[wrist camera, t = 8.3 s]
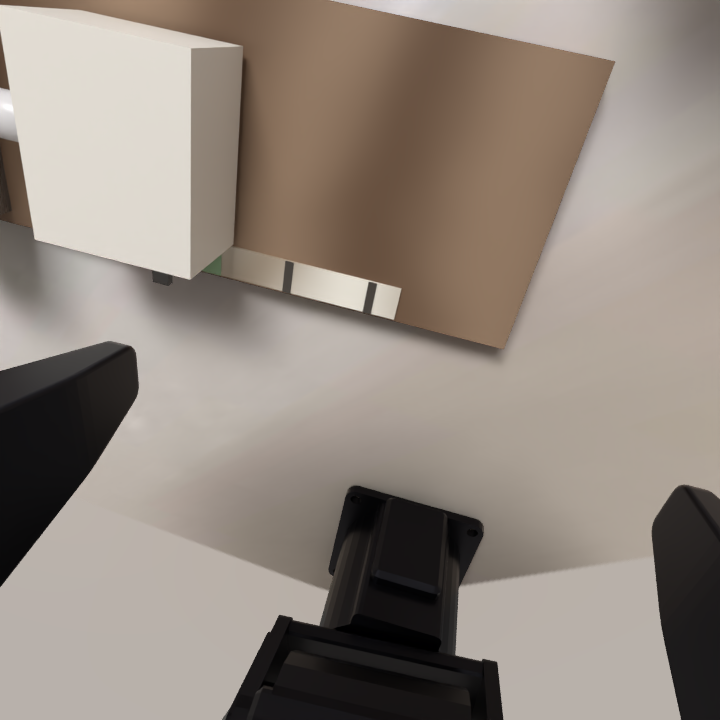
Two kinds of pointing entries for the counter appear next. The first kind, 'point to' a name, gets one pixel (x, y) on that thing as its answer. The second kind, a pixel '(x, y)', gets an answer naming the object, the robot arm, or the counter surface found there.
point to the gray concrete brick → (4, 190)
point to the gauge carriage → (124, 136)
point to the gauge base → (382, 155)
